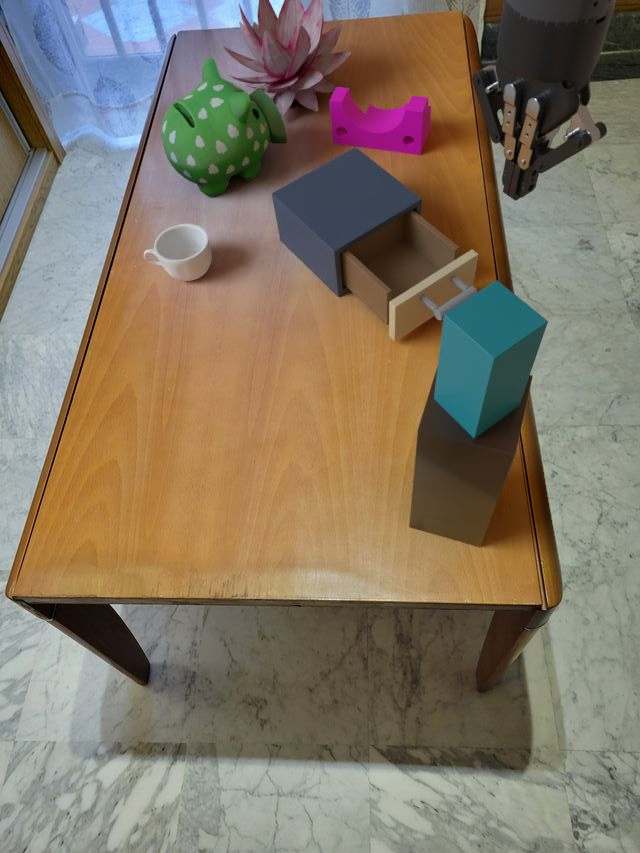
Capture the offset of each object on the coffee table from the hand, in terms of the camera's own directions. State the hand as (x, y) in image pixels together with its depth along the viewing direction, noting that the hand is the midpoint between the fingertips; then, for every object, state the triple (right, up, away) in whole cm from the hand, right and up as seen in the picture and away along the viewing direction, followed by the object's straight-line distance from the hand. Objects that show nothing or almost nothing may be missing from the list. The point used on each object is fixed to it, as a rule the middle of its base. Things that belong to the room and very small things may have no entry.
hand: (516, 192), depth 59 cm
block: (-5, -20, -5) cm, 21 cm away
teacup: (-38, +2, +36) cm, 53 cm away
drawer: (-6, -4, +28) cm, 29 cm away
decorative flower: (-23, +38, +56) cm, 71 cm away
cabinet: (-14, +6, +36) cm, 39 cm away
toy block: (-8, +27, +48) cm, 55 cm away
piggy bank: (-33, +21, +47) cm, 61 cm away
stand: (-3, -31, +14) cm, 34 cm away
